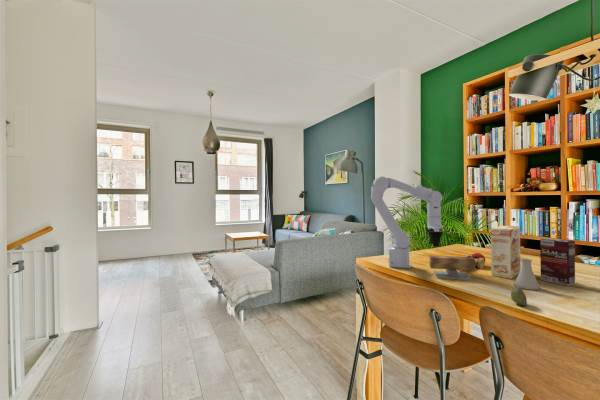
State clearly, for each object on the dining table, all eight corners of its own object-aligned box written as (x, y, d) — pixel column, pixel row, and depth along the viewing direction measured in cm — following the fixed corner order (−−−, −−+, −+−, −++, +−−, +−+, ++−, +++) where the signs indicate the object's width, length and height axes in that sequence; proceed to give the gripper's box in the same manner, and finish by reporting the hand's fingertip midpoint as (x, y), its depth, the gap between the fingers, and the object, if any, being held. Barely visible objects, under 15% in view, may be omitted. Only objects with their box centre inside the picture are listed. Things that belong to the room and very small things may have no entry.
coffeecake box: (511, 279, 107) (510, 229, 107) (490, 275, 113) (489, 228, 113) (521, 272, 117) (520, 226, 117) (501, 269, 122) (500, 225, 122)
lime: (524, 302, 84) (524, 285, 84) (533, 308, 79) (533, 291, 79) (507, 301, 85) (507, 285, 85) (515, 307, 81) (515, 290, 81)
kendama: (476, 276, 117) (491, 263, 128) (472, 261, 117) (487, 250, 128) (457, 275, 123) (473, 263, 134) (453, 261, 123) (469, 250, 134)
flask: (542, 291, 93) (541, 262, 93) (515, 288, 96) (514, 260, 96) (537, 285, 99) (537, 258, 99) (512, 283, 103) (511, 256, 103)
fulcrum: (437, 278, 111) (437, 270, 111) (434, 272, 119) (433, 264, 119) (471, 280, 107) (471, 272, 107) (465, 274, 115) (465, 266, 115)
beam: (431, 268, 114) (430, 257, 114) (429, 266, 117) (429, 255, 117) (475, 270, 109) (475, 259, 109) (472, 268, 112) (472, 257, 112)
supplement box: (539, 280, 105) (539, 238, 105) (547, 278, 107) (546, 237, 107) (569, 286, 97) (568, 241, 97) (576, 284, 99) (575, 240, 99)
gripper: (446, 217, 121) (447, 248, 121) (440, 215, 135) (441, 243, 135) (429, 217, 123) (429, 247, 124) (425, 215, 137) (425, 242, 137)
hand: (434, 245), depth 129 cm, fingers open, 7 cm apart
